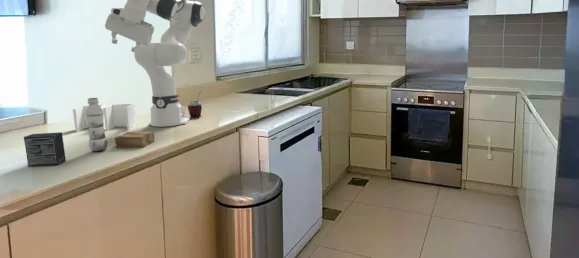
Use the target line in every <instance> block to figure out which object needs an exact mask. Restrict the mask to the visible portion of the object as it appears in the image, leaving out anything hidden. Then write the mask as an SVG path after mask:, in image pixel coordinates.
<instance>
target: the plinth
mask: <svg viewBox="0 0 579 258" xmlns="http://www.w3.org/2000/svg"><path fill="white" fill-rule="evenodd" d="M114 141H115V148H116V149H122V148H123V149H129V148H130V149H133V148H134V149H137V148H139V149H141V148H146V147H147V146H149V145H150V144H153V143H154V142H156V140H155V131H151V130H150V131H149V130H148V131H141V130H140V131H127V132H124V133H122V134H120V135H118V136H116V137H114Z"/></svg>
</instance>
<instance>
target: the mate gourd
mask: <svg viewBox="0 0 579 258" xmlns="http://www.w3.org/2000/svg"><path fill="white" fill-rule="evenodd" d="M203 90H204V88H202V89H201V90H199V92H198V96H197V99H196V101H189V102H188V104H187V110H188V114H189V117H190V119H192V118H191V117H194V118H196V117H197V118H196V119H199V118H200V117H199V116H201V117H202V114H201V113H202V110H203V108H202V103H201V102H200V101H199V100H200V96H201V93H202V92H203Z"/></svg>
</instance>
